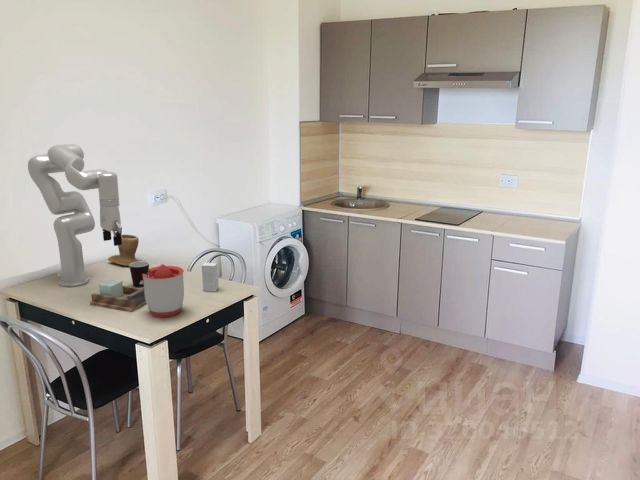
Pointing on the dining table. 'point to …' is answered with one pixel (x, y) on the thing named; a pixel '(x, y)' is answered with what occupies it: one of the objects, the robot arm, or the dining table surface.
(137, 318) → the dining table surface
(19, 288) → the dining table surface
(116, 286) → the block
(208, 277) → the skincare box
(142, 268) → the coffee mug
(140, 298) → the rail board
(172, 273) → the citrus juicer
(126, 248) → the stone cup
